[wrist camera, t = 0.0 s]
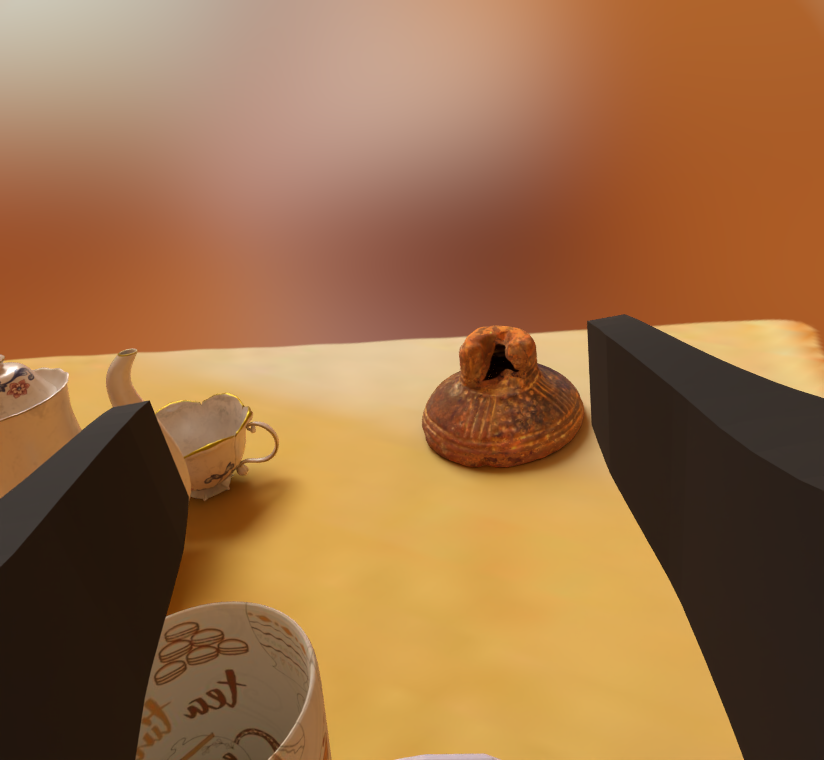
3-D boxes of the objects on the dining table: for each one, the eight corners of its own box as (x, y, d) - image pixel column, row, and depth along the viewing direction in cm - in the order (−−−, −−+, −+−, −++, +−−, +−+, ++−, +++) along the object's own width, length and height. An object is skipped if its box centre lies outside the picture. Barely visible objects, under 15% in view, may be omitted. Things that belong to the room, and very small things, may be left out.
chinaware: (253, 451, 60) (185, 251, 54) (345, 524, 46) (267, 267, 40) (-144, 628, 48) (-286, 396, 42) (-181, 799, 34) (-400, 489, 28)
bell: (601, 391, 56) (596, 302, 53) (559, 482, 47) (549, 380, 44) (459, 383, 61) (446, 301, 58) (396, 463, 52) (376, 370, 49)
